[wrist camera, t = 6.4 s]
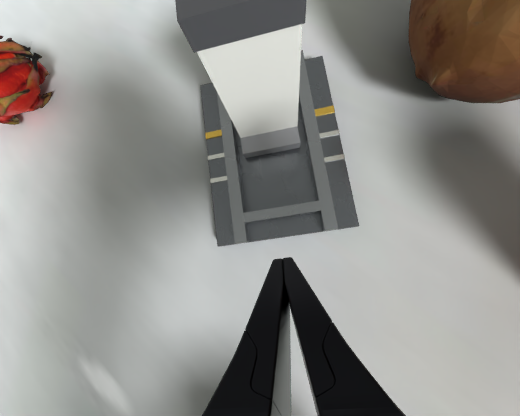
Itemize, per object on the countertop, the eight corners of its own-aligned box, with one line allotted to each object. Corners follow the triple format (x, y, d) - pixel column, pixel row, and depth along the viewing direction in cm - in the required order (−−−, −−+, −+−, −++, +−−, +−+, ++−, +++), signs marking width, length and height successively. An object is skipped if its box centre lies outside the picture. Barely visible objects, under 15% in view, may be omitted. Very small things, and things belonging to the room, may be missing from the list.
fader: (301, 147, 19) (314, 14, 8) (244, 158, 20) (180, 50, 8) (290, 87, 20) (287, -108, 9) (236, 99, 21) (169, -67, 9)
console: (354, 226, 19) (363, 225, 16) (222, 246, 20) (212, 247, 18) (320, 65, 21) (324, 44, 19) (205, 93, 23) (195, 76, 20)
